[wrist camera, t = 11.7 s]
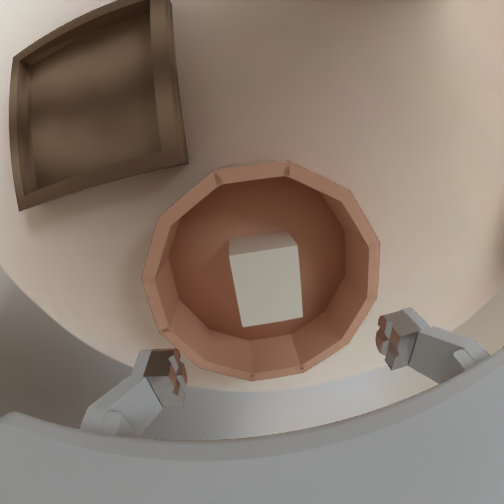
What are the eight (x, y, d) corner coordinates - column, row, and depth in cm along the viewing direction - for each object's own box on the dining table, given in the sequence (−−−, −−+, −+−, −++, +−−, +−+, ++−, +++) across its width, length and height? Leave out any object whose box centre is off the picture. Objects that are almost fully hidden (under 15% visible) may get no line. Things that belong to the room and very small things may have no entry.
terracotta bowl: (146, 182, 18) (119, 189, 13) (344, 155, 18) (377, 155, 14) (188, 347, 23) (181, 387, 18) (347, 322, 23) (369, 356, 19)
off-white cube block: (229, 238, 19) (228, 255, 16) (286, 229, 19) (297, 245, 16) (240, 301, 21) (242, 327, 17) (292, 292, 21) (302, 317, 17)
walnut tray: (31, 63, 13) (13, 57, 10) (171, 4, 13) (163, -14, 10) (40, 204, 18) (19, 211, 15) (188, 163, 18) (180, 164, 15)
